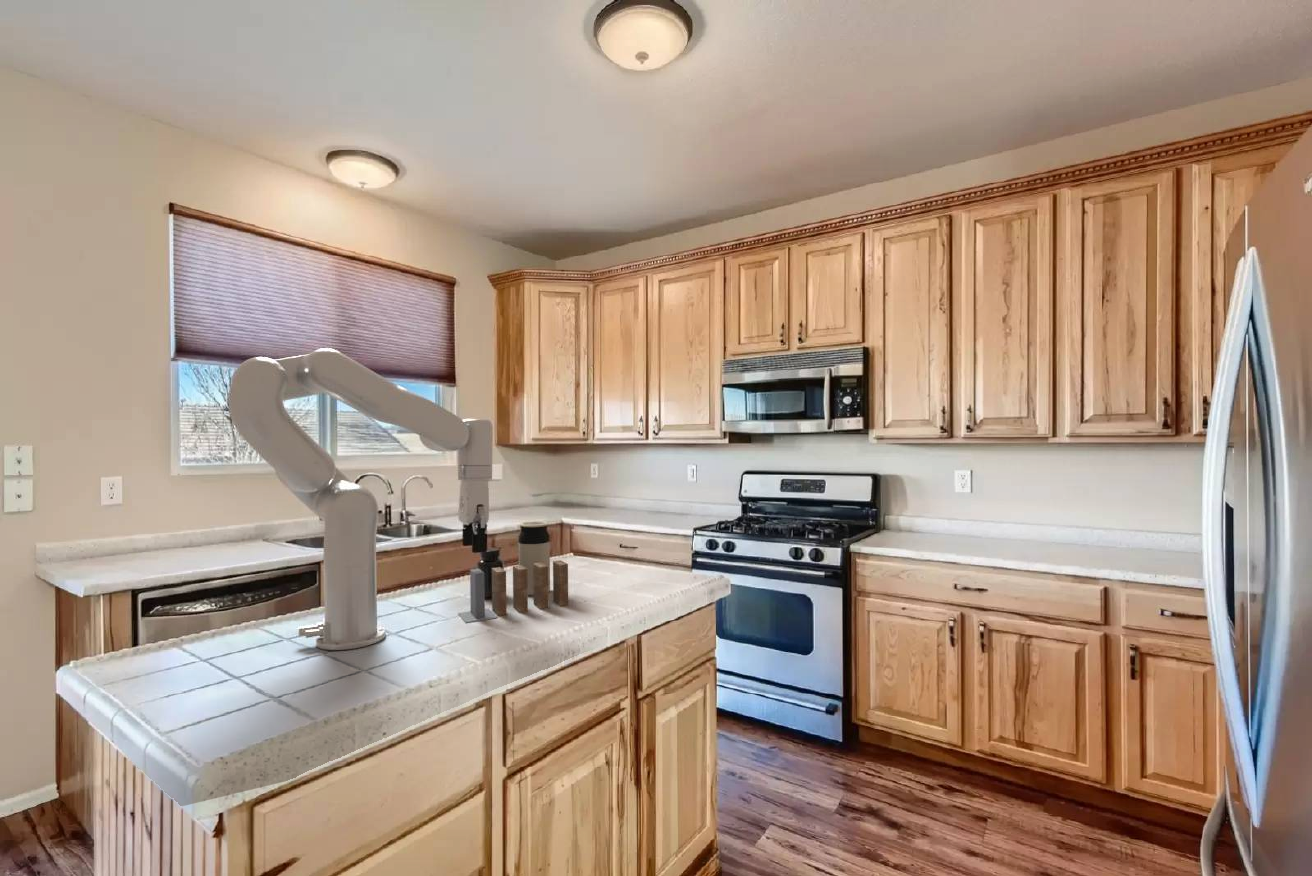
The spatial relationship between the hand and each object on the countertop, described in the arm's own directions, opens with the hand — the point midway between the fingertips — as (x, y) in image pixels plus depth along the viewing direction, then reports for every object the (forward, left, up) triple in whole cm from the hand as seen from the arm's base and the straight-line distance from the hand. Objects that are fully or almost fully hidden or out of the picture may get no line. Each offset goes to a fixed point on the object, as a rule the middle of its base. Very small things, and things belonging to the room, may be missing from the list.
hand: (474, 548), depth 142 cm
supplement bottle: (+8, +16, -16) cm, 24 cm away
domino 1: (+1, 0, -15) cm, 15 cm away
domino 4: (+15, 0, -15) cm, 22 cm away
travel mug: (+18, +14, -16) cm, 28 cm away
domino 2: (+6, 0, -15) cm, 16 cm away
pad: (0, 0, -15) cm, 15 cm away
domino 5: (+20, 0, -15) cm, 26 cm away
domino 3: (+10, 0, -15) cm, 19 cm away
